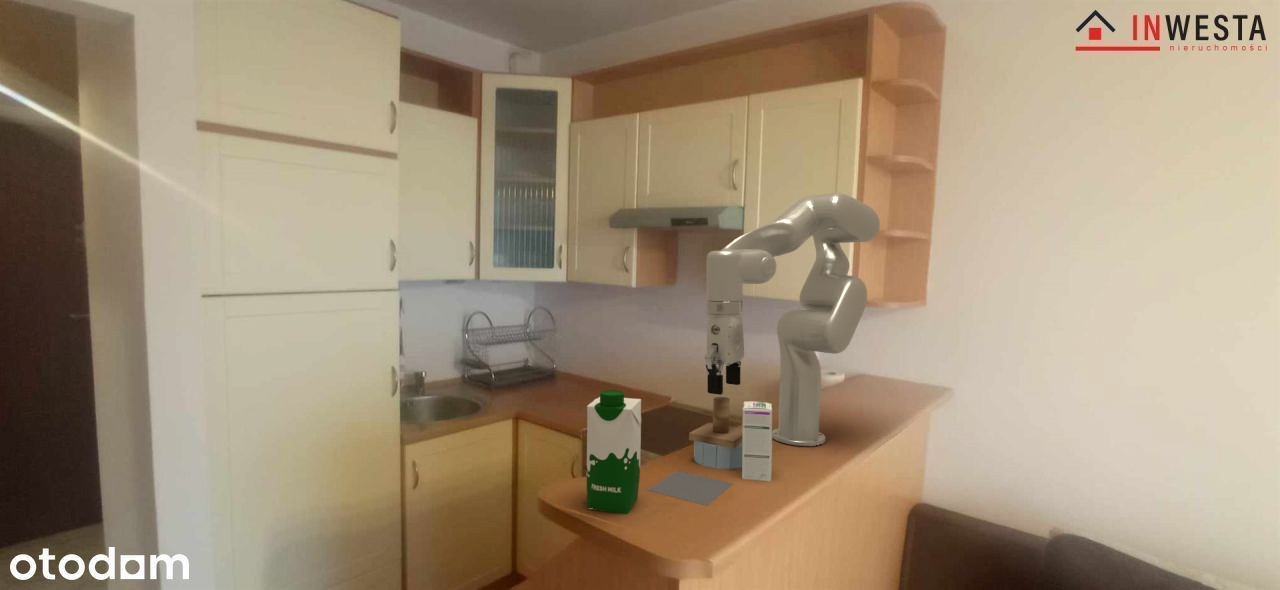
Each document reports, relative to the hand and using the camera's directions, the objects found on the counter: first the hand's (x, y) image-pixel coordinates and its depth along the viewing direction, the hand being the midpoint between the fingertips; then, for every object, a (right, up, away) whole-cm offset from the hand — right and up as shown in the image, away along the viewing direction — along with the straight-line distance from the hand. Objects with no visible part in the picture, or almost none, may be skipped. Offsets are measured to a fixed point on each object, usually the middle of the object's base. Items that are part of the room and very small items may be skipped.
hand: (724, 388), depth 119 cm
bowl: (-1, -16, 0) cm, 16 cm away
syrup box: (+5, -16, -8) cm, 19 cm away
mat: (-9, -16, -15) cm, 24 cm away
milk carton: (-23, -16, -23) cm, 36 cm away
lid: (-1, -11, 0) cm, 11 cm away
